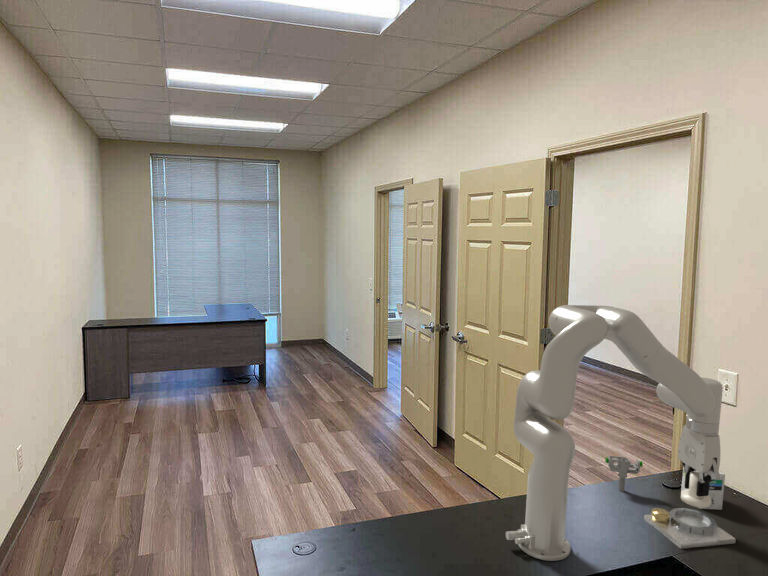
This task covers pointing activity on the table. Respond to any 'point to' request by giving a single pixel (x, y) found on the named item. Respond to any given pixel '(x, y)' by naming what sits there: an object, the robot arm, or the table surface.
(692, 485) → the white door knob
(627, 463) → the mechanical component
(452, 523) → the table surface
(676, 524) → the carrier plate
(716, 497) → the light bulb box
